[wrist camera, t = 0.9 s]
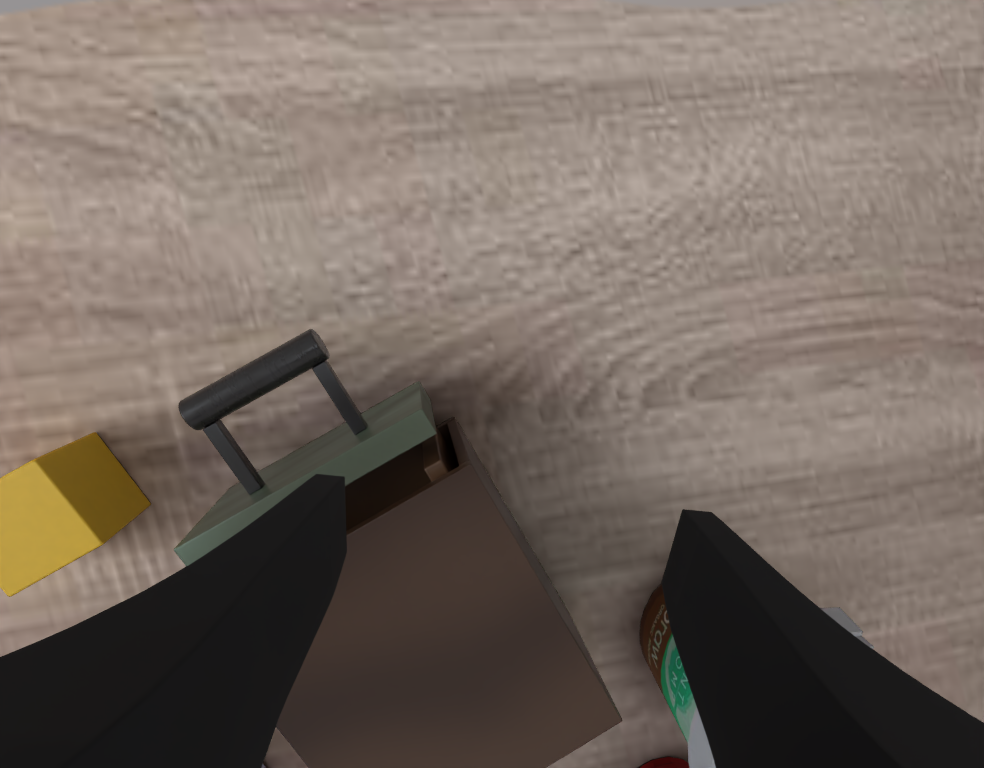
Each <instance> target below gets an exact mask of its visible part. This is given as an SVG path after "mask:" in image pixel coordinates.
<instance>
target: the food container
mask: <svg viewBox="0 0 984 768" xmlns="http://www.w3.org/2000/svg"><path fill="white" fill-rule="evenodd" d="M820 609H822V610H823V611H824V612H825V613H826V614H828V615H829V616H830V617H831V618H833V619H834V620H835V621H836V622H838V623H839V624H840V625H841V626H842V627H844V628H845V629H846V630H848V631H849V632H850V633H852V634H853V635H854V636H855V637H857V638H858V639H859V640H861V641H862V642H863V643H865V644H866V645H868V646H869V647H870V648H874V646H873V645H872V644H870V643H869V642H868V641H867V640H866V639H864V638H863V637H862V633H863V631H862V630H861V629H860V628H859V627H858V626H857V625H856V624H855V623H854V622H853V621H852V620H851V619H850V618H849V617H848V616H847V615H846V614H845V613H844V611H843V610H842V609H841V608H840V607H837V608H820ZM640 645H641V649H642V653H643V655H644V658H645V660H646V662H647V664H648V666H649V668H650V670H651V672H652V674H653V676H654V678H655V680H656V682H657V684H658V686H659V688H660V689H661V691H662V693H663V695H664V697H665V699H666V701H667V703H668V705H669V707H670V709H671V711H672V713H673V715H674V717H675V719H676V721H677V723H678V725H679V727H680V729H681V731H682V733H683V735H684V737H685V738H686V740H687V742H688V762H689V767H690V768H716V766H715V762H714V759H713V756H712V752H711V749H710V746H709V742H708V739H707V736H706V733H705V730H704V727H703V724H702V721H701V718H700V715H699V712H698V709H697V706H696V704H695V701H694V698H693V695H692V692H691V689H690V686H689V683H688V680H687V677H686V674H685V671H684V668H683V665H682V662H681V659H680V656H679V653H678V650H677V647H676V644H675V641H674V638H673V635H672V632H671V628H670V624H669V619H668V614H667V609H666V604H665V599H664V593H663V588H662V583H661V584H660V586H659V587H658V588H657V589H656V590H655V591H654V592H653V593H652V595H651V597H650V599H649V601H648V603H647V605H646V607H645V609H644V612H643V615H642V619H641V624H640Z"/></svg>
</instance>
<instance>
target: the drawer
mask: <svg viewBox="0 0 984 768" xmlns="http://www.w3.org/2000/svg"><path fill="white" fill-rule="evenodd" d="M327 359H329V352H328V350H327V348H326V346H325V344H324V342H323V341H322V339H321V338H320V337H319V335H318V334H317V333H316V332H315V331H314V330H313V329H309V330H308V331H306V332H304V333H302V334H300V335H299V336H297V337H295V338H293V339H291V340H290V341H288V342H286V343H284V344H282V345H281V346H279V347H277V348H275V349H273V350H272V351H270V352H268V353H266V354H264V355H263V356H261V357H259V358H257V359H255V360H254V361H252V362H250V363H248V364H246V365H245V366H243V367H241V368H239V369H237V370H236V371H234V372H232V373H230V374H228V375H226V376H225V377H223V378H221V379H219V380H217V381H216V382H214V383H212V384H210V385H208V386H207V387H205V388H203V389H201V390H199V391H198V392H196V393H194V394H192V395H190V396H189V397H187V398H185V399H183V400H181V401H180V403H179V411H180V414H181V416H182V417H183V419H184V420H185V422H186V423H187V424H188V425H189V426H190V427H192V428H193V429H195V430H202V429H203V431H204V432H205V433H206V435H207V436H208V438H209V439H210V440H211V442H212V443H213V445H214V446H215V447H216V449H217V450H218V452H219V453H220V454H221V456H222V457H223V459H224V460H225V461H226V463H227V464H228V466H229V467H230V469H231V470H232V471H233V473H234V474H235V476H236V477H237V478H238V480H239V481H240V482H239V483H238V484H236V485H234V486H232V487H231V488H229V489H228V490H227V491H226V493H225V494H224V495H223V496H222V497H221V498H220V499H219V500H218V501H217V502H216V504H215V505H214V506H213V507H212V508H211V509H210V510H209V511H208V512H207V513H206V515H205V516H204V517H203V518H202V519H201V520H200V521H199V522H198V523H197V524H196V526H195V527H194V528H193V529H192V530H191V531H190V532H189V533H188V534H187V535H186V537H185V538H184V539H183V540H182V541H181V542H180V543H179V544H178V545H177V546H176V548H175V549H174V551H175V552H176V554H177V555H178V556H179V558H180V559H181V560H182V561H183V563H184V564H185V565H186V566H188V565H190V564H191V563H193V562H195V561H196V560H198V559H199V558H201V557H202V556H204V555H205V554H207V553H208V552H210V551H211V550H213V549H214V548H216V547H217V546H219V545H220V544H222V543H223V542H225V541H226V540H228V539H229V538H231V537H232V536H234V535H235V534H236V533H238V532H239V531H241V530H242V529H244V528H245V527H246V526H248V525H249V524H251V523H252V522H253V521H255V520H256V519H257V518H259V517H260V516H261V515H263V514H264V513H265V512H267V511H268V510H269V509H271V508H272V507H273V506H275V505H276V504H277V503H279V502H280V501H281V500H282V499H284V498H285V497H286V496H288V495H289V494H290V493H292V492H293V491H294V490H295V489H297V488H298V487H299V486H301V485H302V484H303V483H305V482H306V481H307V480H309V479H310V478H311V477H313V476H314V475H315V474H324V475H334V476H344V477H345V504H346V531H348V530H349V529H351V528H353V527H355V526H356V525H358V524H360V523H361V522H363V521H365V520H367V519H368V518H370V517H372V516H374V515H375V514H377V513H379V512H381V511H382V510H384V509H386V508H387V507H389V506H391V505H393V504H394V503H396V502H398V501H400V500H401V499H403V498H405V497H407V496H408V495H410V494H412V493H413V492H415V491H417V490H419V489H420V488H422V487H424V486H426V485H427V484H429V483H431V482H433V481H434V480H436V479H438V478H439V477H441V476H443V475H445V474H446V473H448V472H450V471H452V470H453V469H455V468H457V467H459V464H458V462H457V460H456V458H455V457H454V455H453V453H452V452H451V450H450V448H449V446H448V445H447V443H446V441H445V440H444V438H443V436H442V435H441V433H440V431H439V430H438V428H437V426H436V425H435V421H434V416H433V411H432V406H431V401H430V399H429V397H428V395H427V393H426V392H425V390H424V388H423V387H422V385H421V383H420V382H419V381H418V382H416V383H414V384H413V385H411V386H409V387H407V388H406V389H404V390H402V391H400V392H398V393H397V394H395V395H393V396H391V397H390V398H388V399H386V400H384V401H383V402H381V403H379V404H377V405H375V406H374V407H372V408H370V409H368V410H367V411H365V412H363V413H360V412H359V410H358V409H357V407H356V405H355V404H354V402H353V401H352V399H351V398H350V396H349V394H348V393H347V391H346V390H345V388H344V386H343V385H342V383H341V382H340V380H339V378H338V377H337V375H336V374H335V372H334V371H333V369H332V367H331V366H330V364H329V363H328V361H327ZM311 368H312V369H313V371H314V372H315V374H316V376H317V377H318V379H319V380H320V382H321V383H322V385H323V387H324V388H325V390H326V391H327V393H328V394H329V396H330V397H331V399H332V401H333V402H334V404H335V405H336V407H337V408H338V410H339V412H340V413H341V415H342V416H343V418H344V419H345V421H346V422H345V423H344V424H342V425H340V426H338V427H337V428H335V429H333V430H331V431H329V432H328V433H326V434H324V435H322V436H321V437H319V438H317V439H315V440H314V441H312V442H310V443H308V444H307V445H305V446H303V447H301V448H299V449H298V450H296V451H294V452H292V453H291V454H289V455H287V456H285V457H284V458H282V459H280V460H278V461H276V462H275V463H273V464H271V465H269V466H268V467H266V468H264V469H262V470H261V471H259V472H257V471H256V470H255V468H254V467H253V465H252V464H251V463H250V461H249V460H248V458H247V457H246V455H245V454H244V453H243V451H242V450H241V448H240V447H239V445H238V444H237V443H236V441H235V440H234V438H233V437H232V435H231V434H230V433H229V431H228V430H227V428H226V427H225V425H224V424H223V423H222V421H221V420H220V419H222V418H223V417H225V416H227V415H229V414H231V413H232V412H234V411H236V410H238V409H240V408H241V407H243V406H245V405H247V404H249V403H250V402H252V401H254V400H256V399H257V398H259V397H261V396H263V395H265V394H266V393H268V392H270V391H272V390H274V389H275V388H277V387H279V386H281V385H283V384H284V383H286V382H288V381H290V380H292V379H293V378H295V377H297V376H299V375H300V374H302V373H304V372H306V371H308V370H309V369H311Z"/></svg>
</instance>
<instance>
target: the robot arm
mask: <svg viewBox="0 0 984 768" xmlns="http://www.w3.org/2000/svg"><path fill="white" fill-rule="evenodd" d="M346 554H347V535H346V504H345V477H344V476H334V475H324V474H315V475H314V476H313V477H311V478H310V479H309V480H307V481H306V482H305V483H303V484H302V485H301V486H299V487H298V488H297V489H295V490H294V491H293V492H292V493H290V494H289V495H288V496H286V497H285V498H284V499H282V500H281V501H280V502H279V503H277V504H276V505H275V506H273V507H272V508H271V509H269V510H268V511H267V512H265V513H264V514H263V515H261V516H260V517H259V518H257V519H256V520H255V521H253V522H252V523H251V524H249V525H248V526H246V527H245V528H244V529H242V530H241V531H239V532H238V533H236V534H235V535H234V536H232V537H231V538H229V539H228V540H226V541H225V542H223V543H222V544H220V545H219V546H217V547H216V548H214V549H213V550H211V551H210V552H208V553H207V554H205V555H204V556H202V557H201V558H199V559H198V560H196V561H195V562H193V563H191V564H190V565H188V566H186V567H185V568H183V569H181V570H180V571H178V572H176V573H175V574H173V575H171V576H169V577H168V578H166V579H164V580H162V581H161V582H159V583H157V584H155V585H154V586H152V587H150V588H148V589H146V590H145V591H143V592H141V593H139V594H137V595H135V596H133V597H131V598H129V599H127V600H125V601H123V602H121V603H119V604H117V605H115V606H113V607H111V608H109V609H107V610H105V611H103V612H101V613H99V614H97V615H95V616H93V617H91V618H89V619H87V620H85V621H83V622H81V623H79V624H77V625H74V626H72V627H70V628H68V629H66V630H63V631H61V632H59V633H56V634H54V635H52V636H50V637H47V638H45V639H43V640H40V641H38V642H36V643H34V644H31V645H29V646H26V647H24V648H21V649H19V650H17V651H14V652H12V653H9V654H7V655H4V656H2V657H0V768H266V767H265V766H264V765H263V761H264V759H265V756H266V753H267V750H268V747H269V744H270V741H271V739H272V736H273V733H274V730H275V727H276V724H277V722H278V719H279V717H280V714H281V712H282V709H283V707H284V704H285V702H286V700H287V697H288V695H289V693H290V691H291V688H292V686H293V684H294V682H295V680H296V677H297V675H298V673H299V671H300V669H301V667H302V664H303V662H304V660H305V658H306V656H307V653H308V651H309V649H310V647H311V645H312V642H313V640H314V638H315V636H316V634H317V631H318V629H319V627H320V625H321V623H322V620H323V618H324V616H325V614H326V611H327V609H328V607H329V605H330V602H331V600H332V598H333V595H334V592H335V589H336V586H337V583H338V580H339V577H340V574H341V570H342V567H343V564H344V560H345V557H346ZM662 588H663V593H664V599H665V604H666V609H667V614H668V619H669V624H670V628H671V632H672V635H673V638H674V641H675V644H676V647H677V650H678V653H679V656H680V659H681V662H682V665H683V668H684V671H685V674H686V677H687V680H688V683H689V686H690V689H691V692H692V695H693V698H694V701H695V704H696V706H697V709H698V712H699V715H700V718H701V721H702V724H703V727H704V730H705V733H706V736H707V739H708V742H709V746H710V749H711V752H712V756H713V759H714V762H715V766H716V768H984V723H983V722H981V721H980V720H978V719H976V718H975V717H973V716H971V715H970V714H968V713H967V712H965V711H964V710H962V709H960V708H959V707H957V706H956V705H954V704H953V703H951V702H949V701H948V700H946V699H945V698H943V697H942V696H940V695H939V694H937V693H935V692H934V691H932V690H931V689H929V688H928V687H926V686H924V685H923V684H922V683H920V682H919V681H917V680H916V679H914V678H913V677H911V676H910V675H908V674H907V673H905V672H904V671H902V670H901V669H899V668H898V667H897V666H895V665H894V664H892V663H891V662H890V661H888V660H887V659H886V658H884V657H883V656H881V655H880V654H879V653H877V652H876V651H875V650H873V649H872V648H870V647H869V646H868V645H866V644H865V643H863V642H862V641H861V640H859V639H858V638H857V637H855V636H854V635H853V634H852V633H850V632H849V631H848V630H846V629H845V628H844V627H842V626H841V625H840V624H839V623H838V622H836V621H835V620H834V619H833V618H831V617H830V616H829V615H828V614H826V613H825V612H824V611H823V610H822V609H820V608H819V607H818V606H817V605H815V604H814V603H813V602H812V601H811V600H809V599H808V598H807V597H806V596H805V595H804V594H802V593H801V592H800V591H799V590H798V589H797V588H795V587H794V586H793V585H792V584H791V583H790V582H789V581H787V580H786V579H785V578H784V577H783V576H782V575H781V574H780V573H778V572H777V571H776V570H775V569H774V568H773V567H772V566H771V565H770V564H768V563H767V562H766V561H765V560H764V559H763V558H762V557H761V556H760V555H759V554H757V553H756V552H755V551H754V550H753V549H752V548H751V547H750V546H749V545H748V544H747V543H746V542H744V541H743V540H742V539H741V538H740V537H739V536H738V535H737V534H736V533H735V532H734V531H732V530H731V529H730V528H729V527H728V526H727V525H726V524H725V523H724V522H722V521H721V520H720V519H719V518H718V517H717V516H715V515H714V514H713V513H712V512H704V511H694V510H684V509H683V510H682V513H681V516H680V520H679V523H678V527H677V530H676V534H675V537H674V541H673V544H672V548H671V551H670V555H669V558H668V562H667V565H666V569H665V572H664V576H663V579H662Z"/></svg>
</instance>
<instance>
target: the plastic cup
mask: <svg viewBox="0 0 984 768" xmlns="http://www.w3.org/2000/svg"><path fill="white" fill-rule="evenodd" d="M639 768H690V767H689V763H688V762H686V761H685V760H683V759H679V758H673V757H664V758H660V759H655V760H651V761H649V762H648V763H646V764H644V765H643V766H641V767H639Z"/></svg>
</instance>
